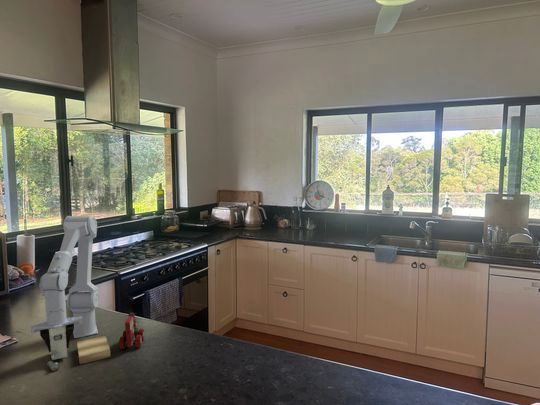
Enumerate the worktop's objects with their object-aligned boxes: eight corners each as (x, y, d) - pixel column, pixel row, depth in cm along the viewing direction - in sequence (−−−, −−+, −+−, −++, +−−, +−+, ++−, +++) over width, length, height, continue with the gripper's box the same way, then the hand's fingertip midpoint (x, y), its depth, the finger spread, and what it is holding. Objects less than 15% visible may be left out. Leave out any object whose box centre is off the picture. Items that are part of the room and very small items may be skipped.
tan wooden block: (77, 348, 131) (76, 341, 131) (105, 342, 136) (105, 335, 136) (79, 364, 121) (79, 356, 121) (110, 356, 125) (110, 349, 125)
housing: (51, 349, 128) (49, 330, 128) (66, 346, 130) (64, 327, 130) (51, 360, 121) (50, 340, 121) (67, 356, 124) (65, 336, 123)
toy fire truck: (145, 335, 141) (144, 308, 140) (139, 351, 129) (138, 321, 128) (125, 337, 140) (124, 309, 139) (118, 353, 128) (116, 323, 127)
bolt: (45, 367, 119) (45, 360, 119) (54, 364, 121) (53, 357, 121) (51, 372, 116) (51, 365, 116) (60, 369, 118) (59, 361, 118)
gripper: (29, 317, 117) (32, 360, 119) (81, 308, 125) (84, 348, 126) (29, 310, 123) (33, 350, 125) (80, 301, 131) (82, 339, 132)
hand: (58, 348), depth 126 cm, fingers closed on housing, 4 cm apart
